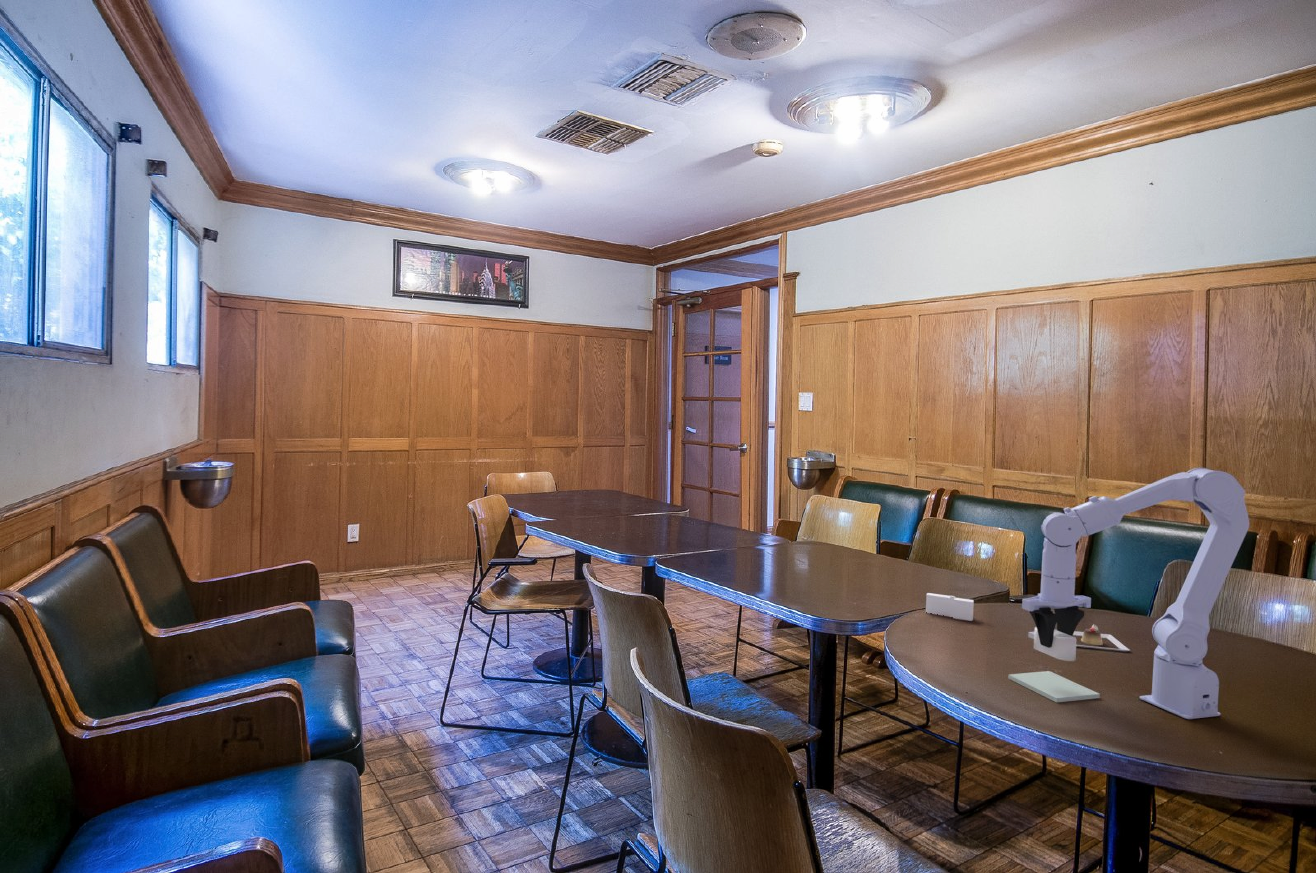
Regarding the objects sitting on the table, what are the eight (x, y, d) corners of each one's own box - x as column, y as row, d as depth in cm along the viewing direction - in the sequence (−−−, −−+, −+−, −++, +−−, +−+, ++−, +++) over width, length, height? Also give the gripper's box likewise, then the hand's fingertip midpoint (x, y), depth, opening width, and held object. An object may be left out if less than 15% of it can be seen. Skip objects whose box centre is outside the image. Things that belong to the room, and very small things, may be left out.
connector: (1079, 660, 136) (1081, 639, 136) (1064, 661, 135) (1065, 640, 135) (1038, 643, 146) (1039, 623, 145) (1024, 644, 145) (1025, 624, 145)
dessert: (1071, 649, 165) (1072, 628, 165) (1056, 633, 177) (1057, 614, 177) (1130, 655, 163) (1131, 634, 162) (1110, 639, 174) (1111, 619, 174)
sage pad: (1099, 697, 135) (1099, 693, 135) (1056, 702, 133) (1056, 698, 133) (1049, 674, 147) (1049, 670, 147) (1008, 678, 144) (1008, 674, 144)
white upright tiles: (912, 612, 193) (913, 591, 193) (945, 608, 197) (945, 588, 197) (955, 628, 179) (956, 605, 179) (989, 624, 183) (990, 602, 183)
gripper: (1071, 569, 145) (1068, 636, 145) (1011, 572, 141) (1008, 640, 141) (1101, 578, 138) (1097, 647, 139) (1039, 580, 134) (1036, 652, 135)
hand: (1054, 645), depth 140 cm, fingers closed on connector, 4 cm apart
